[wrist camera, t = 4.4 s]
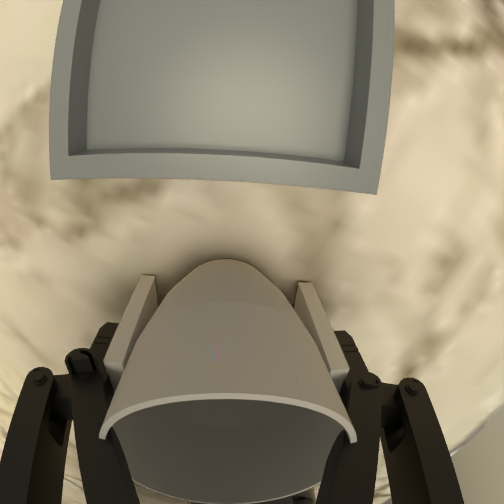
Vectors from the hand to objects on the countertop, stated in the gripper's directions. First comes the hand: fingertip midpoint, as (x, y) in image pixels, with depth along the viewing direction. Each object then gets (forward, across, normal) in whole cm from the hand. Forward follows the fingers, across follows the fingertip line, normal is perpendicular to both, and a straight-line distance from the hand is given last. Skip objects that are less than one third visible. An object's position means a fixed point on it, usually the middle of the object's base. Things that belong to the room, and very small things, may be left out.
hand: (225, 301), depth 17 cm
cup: (0, 0, 0) cm, 0 cm away
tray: (0, +1, -16) cm, 16 cm away
